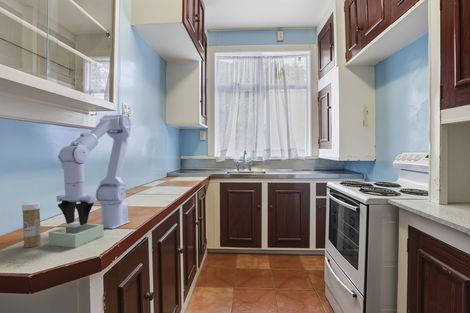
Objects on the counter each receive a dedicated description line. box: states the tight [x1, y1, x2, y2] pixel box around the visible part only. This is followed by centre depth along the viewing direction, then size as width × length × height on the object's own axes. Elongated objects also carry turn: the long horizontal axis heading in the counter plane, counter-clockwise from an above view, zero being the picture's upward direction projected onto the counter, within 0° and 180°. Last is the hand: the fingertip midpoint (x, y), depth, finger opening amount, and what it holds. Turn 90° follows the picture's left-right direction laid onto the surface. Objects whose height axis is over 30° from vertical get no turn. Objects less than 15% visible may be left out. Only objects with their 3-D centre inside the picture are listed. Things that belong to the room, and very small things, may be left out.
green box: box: [48, 223, 105, 249], centre depth 88 cm, size 11×11×4 cm
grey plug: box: [65, 221, 85, 234], centre depth 87 cm, size 4×4×6 cm
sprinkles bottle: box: [21, 201, 42, 248], centre depth 85 cm, size 5×5×14 cm
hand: (77, 223), depth 88 cm, fingers open, 5 cm apart
